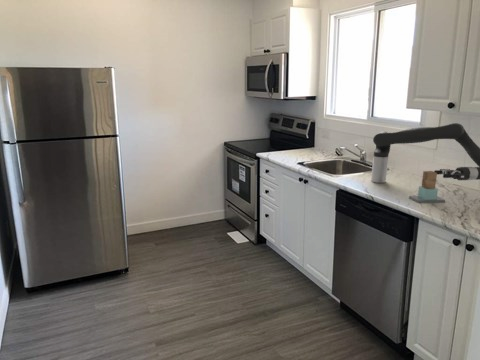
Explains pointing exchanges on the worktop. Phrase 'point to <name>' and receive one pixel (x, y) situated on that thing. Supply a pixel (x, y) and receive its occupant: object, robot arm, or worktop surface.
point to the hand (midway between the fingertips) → (438, 174)
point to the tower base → (419, 200)
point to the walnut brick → (429, 179)
